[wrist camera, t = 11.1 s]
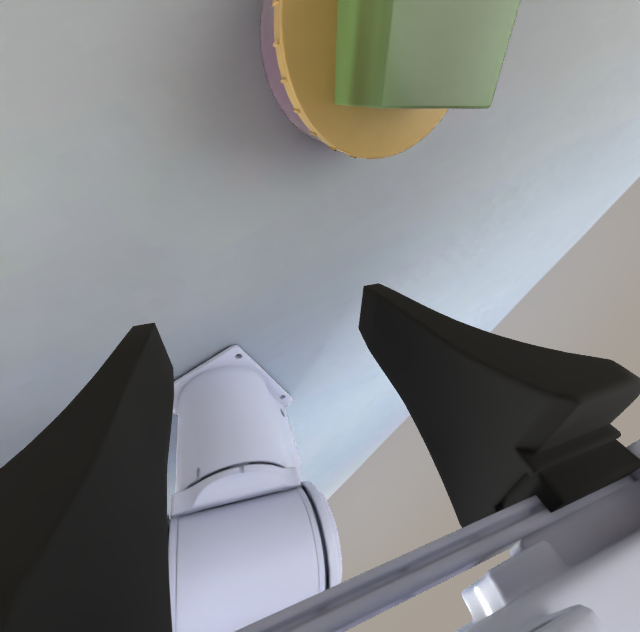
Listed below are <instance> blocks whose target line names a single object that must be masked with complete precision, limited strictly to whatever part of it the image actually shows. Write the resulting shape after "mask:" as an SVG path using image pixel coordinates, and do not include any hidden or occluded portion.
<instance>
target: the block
mask: <svg viewBox="0 0 640 632" xmlns="http://www.w3.org/2000/svg"><path fill="white" fill-rule="evenodd" d="M520 1H521V0H338V2H337V34H336V66H335V98H334V103H335V104H336V105H344V106H355V107H367V108H378V109H481V108H489V107H490V106H491V103H492V99H493V96H494V92H495V89H496V85H497V82H498V78H499V75H500V71H501V68H502V64H503V60H504V57H505V53H506V50H507V46H508V43H509V39H510V36H511V32H512V29H513V25H514V22H515V18H516V15H517V11H518V8H519V4H520Z"/></svg>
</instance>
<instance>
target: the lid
mask: <svg viewBox="0 0 640 632" xmlns="http://www.w3.org/2000/svg"><path fill="white" fill-rule="evenodd" d="M337 2H338V0H273V1H272V6H274V39H275V42H274V43H273V47H275V49H276V55H277V62H278V66H279V70H280V74H281V78H282V79H281V80H280V81H281V83H283V84H284V87H285V89H286V92H287V95H288V97H289V99H290V101H291V103H292V105H293V107H294V110H293V111H294V112H295V113H297V114H298V115H299V117H300V118H301V120H302V122H303V123H304V124H305V125H306V126H307V127H308V129H309V130H310V134H312V135H314V136H316V137H317V138H319V139H320V140H321V141H322V142H324V143H325V144H327V145H328V146H329V147H328V148H330V149H332V150H335V151H336V150H339V151H341V152H343V153H346V154H348V155H349V156H351V157H354V158H357V157H359V158H367V159H377V158H384V157H389V156H393V155H395V154H398V153H400V152H403V151H404V150H406V149H408V148H410V147H412V146H413V145H415V144H416V143H417V142H419V141H420V140H422V139H423V138H424V137H425V136H426V135H427V134H428V133H429V132H430V131H431V130H432V129H433V128H434V127H435V126H436V125H437V124H438V123H439V121H440V120H441V119H442V118H443V116H444V115H445V113H446V112H447V111H448V109H378V108H367V107H355V106H344V105H336V104H335V103H334V98H335V66H336V34H337Z"/></svg>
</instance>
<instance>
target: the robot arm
mask: <svg viewBox="0 0 640 632" xmlns="http://www.w3.org/2000/svg"><path fill="white" fill-rule="evenodd" d="M359 330H360V332H361V334H362V337H363V339H364V341H365V343H366V345H367V347H368V349H369V350H370V352H371V354H372V355H373V357H374V358H375V360H376V361H377V363H378V364H379V366H380V367H381V369H382V370H383V372H384V373H385V375H386V376H387V377H388V379H389V380H390V382H391V383H392V385H393V386H394V388H395V389H396V391H397V392H398V394H399V395H400V397H401V399H402V400H403V402H404V403H405V405H406V407H407V409H408V411H409V413H410V415H411V417H412V418H413V420H414V422H415V424H416V426H417V428H418V430H419V432H420V434H421V436H422V438H423V440H424V442H425V444H426V446H427V448H428V450H429V452H430V455H431V457H432V459H433V461H434V463H435V466H436V467H437V470H438V472H439V474H440V476H441V479H442V481H443V483H444V486H445V488H446V491H447V493H448V495H449V498H450V500H451V503H452V505H453V507H454V510H455V513H456V515H457V518H458V520H459V523H460V525H461V526H462V529H459V530H457V531H455V532H452V533H450V534H448V535H446V536H444V537H441V538H439V539H437V540H435V541H433V542H430V543H428V544H426V545H424V546H422V547H419V548H417V549H415V550H413V551H411V552H408V553H406V554H404V555H402V556H400V557H398V558H395V559H393V560H391V561H389V562H386V563H384V564H382V565H380V566H377V567H375V568H373V569H371V570H369V571H366V572H364V573H362V574H360V575H358V576H356V577H353V578H351V579H349V580H347V581H344V582H342V583H341V579H342V555H341V547H340V541H339V536H338V532H337V527H336V524H335V520H334V517H333V514H332V512H331V509H330V507H329V504H328V502H327V500H326V498H325V497H324V495H323V494H322V493H321V492H320V491H319V490H318V489H317V488H316V487H315V486H314V485H313V484H312V483H311V482H309V481H304V482H300V475H301V460H300V456H299V453H298V449H297V446H296V443H295V439H294V436H293V433H292V429H291V426H290V423H289V419H288V416H287V413H286V410H285V407H286V406H288V405H289V404H291V403H292V397H291V396H290V395H289V394H288V393H287V392H286V391H285V390H284V389H283V388H282V387H281V386H280V385H279V384H278V383H277V382H276V381H275V380H273V379H272V378H271V377H270V376H269V375H268V374H267V373H266V372H265V371H264V370H263V369H262V368H261V367H260V366H259V365H258V364H257V363H256V362H255V361H254V360H253V359H252V358H251V357H250V356H249V355H248V354H247V353H246V352H244V351H243V350H242V349H241V348H240V347H239V346H237V345H233V346H230V347H229V348H227V349H226V350H224V351H222V352H221V353H219V354H218V355H216V356H214V357H213V358H211V359H210V360H208V361H206V362H205V363H203V364H202V365H200V366H198V367H197V368H195V369H194V370H192V371H190V372H189V373H187V374H186V375H184V376H182V377H181V378H179V379H177V380H176V381H174V376H173V366H172V364H171V361H170V359H169V357H168V354H167V352H166V349H165V347H164V344H163V342H162V340H161V337H160V335H159V332H158V330H157V327H156V325H155V323H149V324H144V325H138V326H133V327H132V328H131V329H130V331H129V332H128V333H127V335H126V336H125V337H124V338H123V340H122V341H121V342H120V344H119V345H118V346H117V347H116V349H115V350H114V351H113V353H112V354H111V355H110V357H109V358H108V359H107V360H106V362H105V363H104V364H103V365H102V367H101V368H100V369H99V370H98V372H97V373H96V374H95V375H94V376H93V378H92V379H91V380H90V381H89V382H88V383H87V385H86V386H85V387H84V388H83V389H82V390H81V391H80V392H79V394H78V395H77V396H76V397H75V398H74V399H73V400H72V401H71V403H70V404H69V405H68V406H67V407H66V408H65V409H64V410H63V411H62V412H61V413H60V414H59V415H58V416H57V417H56V418H55V419H54V420H53V421H52V422H51V423H50V424H49V425H48V426H47V427H46V428H45V429H44V430H43V431H42V432H41V433H40V434H39V435H38V436H37V437H36V438H35V439H34V440H33V441H32V442H31V443H29V444H28V445H27V446H26V447H25V448H24V449H23V450H22V451H21V452H19V453H18V454H17V455H16V456H15V457H14V458H12V459H11V460H10V461H9V462H8V463H7V464H6V465H4V466H3V467H2V468H1V469H0V632H344V631H346V630H348V629H350V628H352V627H354V626H356V625H358V624H360V623H362V622H364V621H366V620H368V619H370V618H372V617H374V616H376V615H378V614H380V613H382V612H384V611H386V610H388V609H390V608H392V607H394V606H396V605H398V604H400V603H402V602H404V601H406V600H408V599H410V598H412V597H414V596H416V595H418V594H420V593H422V592H424V591H426V590H428V589H430V588H432V587H434V586H436V585H438V584H440V583H442V582H444V581H446V580H448V579H450V578H452V577H454V576H456V575H458V574H460V573H462V572H464V571H466V570H468V569H470V568H472V567H474V566H476V565H478V564H480V563H482V562H484V561H486V560H488V559H490V558H492V557H494V556H496V555H498V554H500V553H502V552H504V551H506V550H508V549H510V548H511V549H510V557H511V558H509V559H508V560H506V561H504V562H502V563H501V564H499V565H497V566H496V567H494V568H492V569H490V570H489V571H488V572H487V573H486V574H485V575H484V576H483V577H482V578H480V579H479V580H478V581H476V582H475V583H473V584H472V585H471V586H469V587H468V588H466V589H465V590H463V591H462V597H463V599H464V601H465V603H466V605H467V607H468V608H469V610H470V612H471V614H472V618H473V621H472V622H470V623H469V624H467V625H465V626H463V627H461V628H460V629H458V630H456V631H454V632H640V440H638V441H636V442H634V443H632V444H631V445H629V446H628V447H624V446H623V445H622V444H621V443H620V442H618V441H617V440H616V439H617V438H619V437H620V436H621V433H620V432H619V431H618V430H617V429H616V428H614V427H613V426H612V425H611V424H610V423H611V422H612V421H613V420H614V419H615V418H616V417H617V416H619V415H620V414H621V413H622V412H623V411H624V410H625V409H626V408H627V407H628V406H629V405H630V404H631V403H632V402H633V401H634V400H635V399H636V398H637V397H638V396H639V394H640V378H639V377H638V376H636V375H635V374H633V373H631V372H630V371H629V370H627V369H625V368H624V367H622V366H621V365H619V364H618V363H616V362H614V361H612V360H609V359H603V358H597V357H591V356H585V355H579V354H573V353H567V352H562V351H558V350H553V349H548V348H544V347H539V346H535V345H531V344H527V343H523V342H519V341H516V340H512V339H509V338H505V337H502V336H499V335H495V334H492V333H489V332H486V331H483V330H481V329H478V328H475V327H472V326H470V325H467V324H464V323H462V322H459V321H457V320H454V319H452V318H450V317H448V316H445V315H443V314H441V313H438V312H436V311H434V310H432V309H430V308H428V307H426V306H424V305H422V304H420V303H418V302H416V301H414V300H412V299H410V298H408V297H406V296H404V295H402V294H400V293H398V292H396V291H394V290H392V289H390V288H388V287H386V286H383V285H381V284H373V285H367V286H364V288H363V296H362V305H361V313H360V321H359ZM237 354H240V355H239V356H236V355H237ZM172 414H175V415H176V416H178V429H177V457H176V485H175V493H173V494H172V500H171V519H170V520H169V514H167V463H168V452H169V443H170V433H171V424H172Z"/></svg>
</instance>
